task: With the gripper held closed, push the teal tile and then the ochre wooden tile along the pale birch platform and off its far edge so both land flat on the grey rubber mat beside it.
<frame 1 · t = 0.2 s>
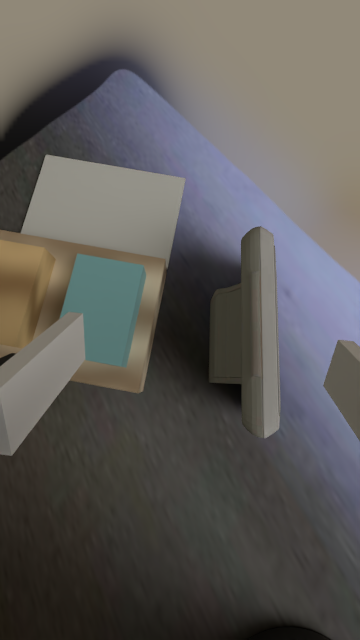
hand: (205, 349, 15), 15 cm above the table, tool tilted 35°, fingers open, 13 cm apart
ochre tile: (12, 297, 27), point 4 cm above the table, touching platform
teal tile: (105, 314, 27), point 4 cm above the table, touching platform
mat: (105, 211, 33), on the table
platform: (73, 315, 31), on the table
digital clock: (247, 342, 31), on the table
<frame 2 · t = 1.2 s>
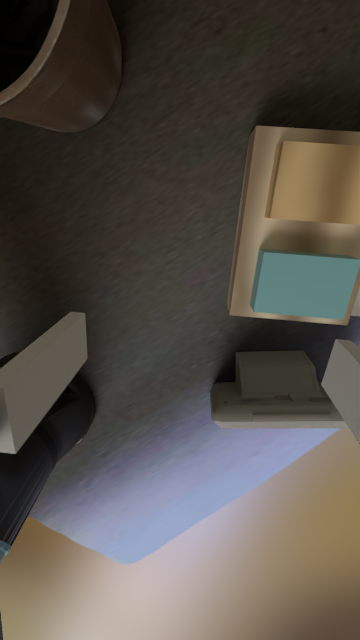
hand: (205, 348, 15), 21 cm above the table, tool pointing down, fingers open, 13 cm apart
plant pot: (62, 64, 28), on the table
ochre tile: (318, 186, 27), point 4 cm above the table, touching platform
teal tile: (297, 280, 30), point 4 cm above the table, touching platform
platform: (294, 232, 32), on the table
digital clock: (267, 376, 40), on the table
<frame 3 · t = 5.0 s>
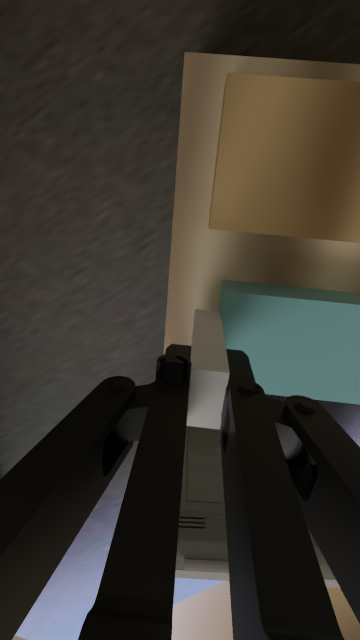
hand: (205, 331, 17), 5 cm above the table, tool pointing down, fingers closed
ochre tile: (302, 172, 15), point 4 cm above the table, touching platform
teal tile: (287, 332, 18), point 4 cm above the table, touching gripper
platform: (268, 249, 20), on the table
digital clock: (230, 451, 28), on the table
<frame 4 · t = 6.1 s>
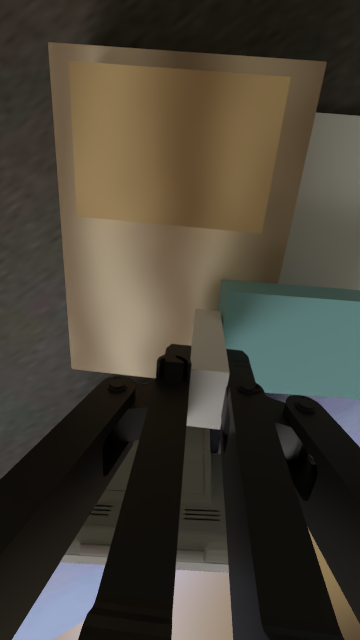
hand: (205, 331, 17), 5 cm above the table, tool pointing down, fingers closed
ochre tile: (177, 161, 15), point 4 cm above the table, touching platform
teal tile: (285, 330, 18), point 4 cm above the table, touching gripper
mat: (356, 265, 20), on the table
platform: (176, 240, 20), on the table
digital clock: (164, 443, 28), on the table
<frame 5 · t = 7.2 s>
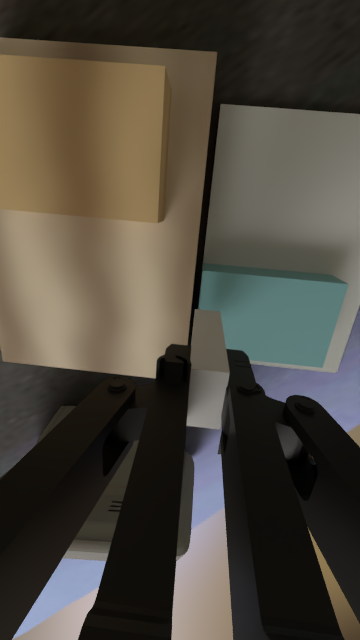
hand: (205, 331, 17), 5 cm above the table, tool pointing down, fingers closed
ochre tile: (82, 152, 15), point 4 cm above the table, touching platform
teal tile: (258, 308, 21), resting on mat
mat: (285, 257, 20), on the table
platform: (107, 234, 20), on the table
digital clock: (113, 437, 28), on the table
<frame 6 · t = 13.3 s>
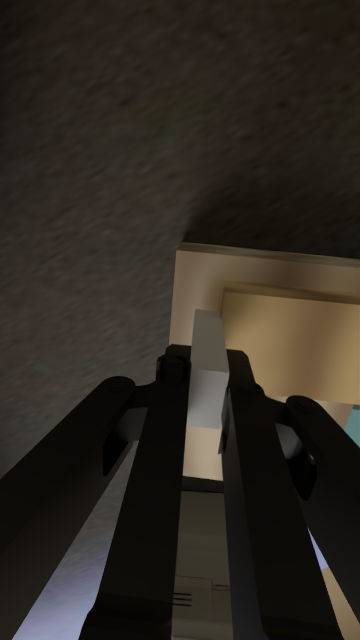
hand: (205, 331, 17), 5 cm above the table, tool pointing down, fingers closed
ochre tile: (287, 333, 18), point 4 cm above the table, touching gripper, platform
platform: (250, 361, 23), on the table
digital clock: (217, 516, 31), on the table
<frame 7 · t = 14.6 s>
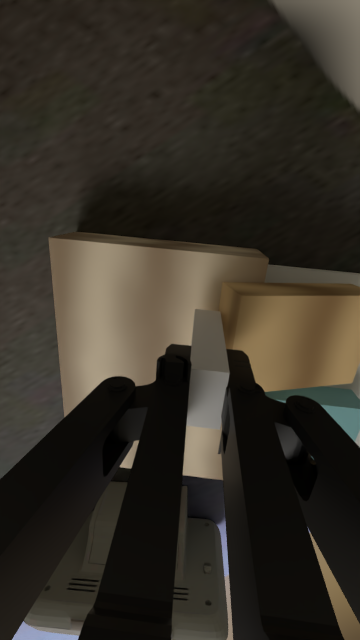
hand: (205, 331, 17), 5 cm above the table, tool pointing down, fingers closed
ochre tile: (280, 327, 19), point 3 cm above the table, tilted 19°, touching gripper
teal tile: (287, 412, 25), resting on mat
mat: (311, 373, 24), on the table
platform: (158, 351, 24), on the table
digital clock: (147, 506, 32), on the table
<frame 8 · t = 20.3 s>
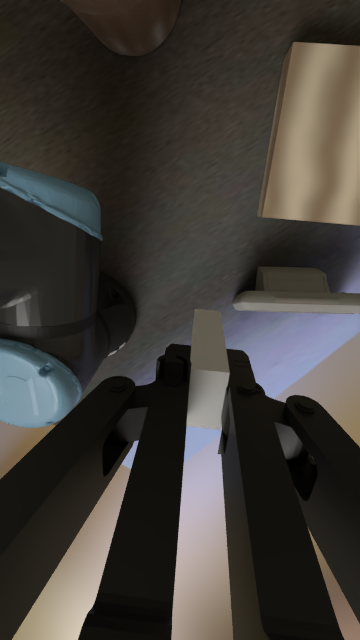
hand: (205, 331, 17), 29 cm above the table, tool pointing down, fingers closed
platform: (318, 148, 38), on the table
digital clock: (282, 292, 46), on the table
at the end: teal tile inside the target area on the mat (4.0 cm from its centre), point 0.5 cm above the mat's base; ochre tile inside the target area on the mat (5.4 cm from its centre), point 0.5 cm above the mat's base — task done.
